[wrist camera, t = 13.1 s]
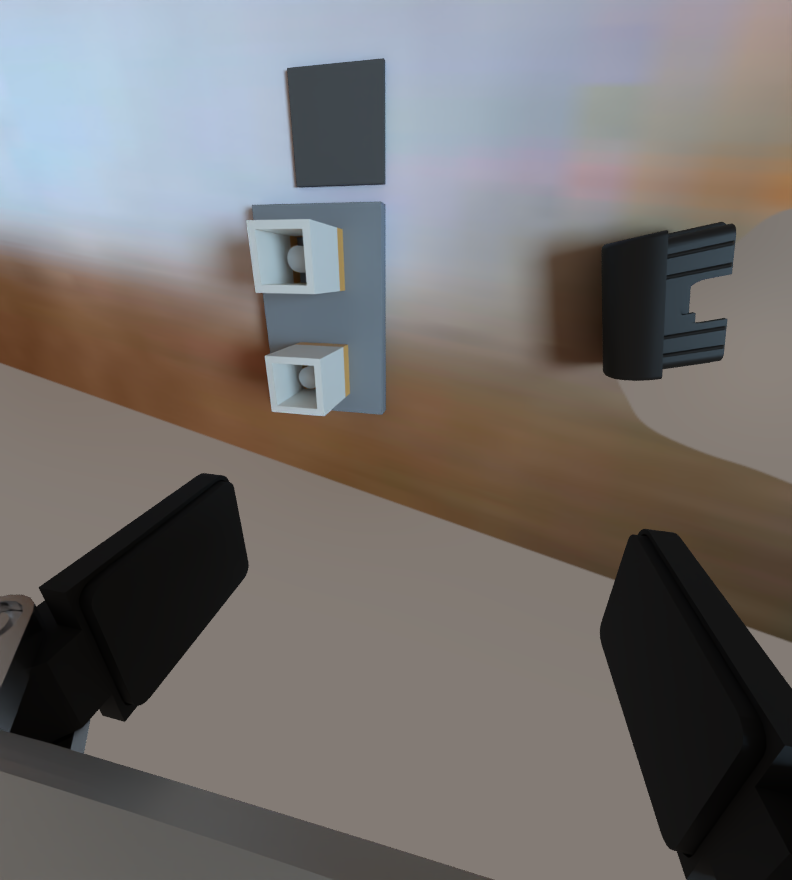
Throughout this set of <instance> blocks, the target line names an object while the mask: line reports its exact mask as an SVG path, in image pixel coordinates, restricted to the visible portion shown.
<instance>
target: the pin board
mask: <svg viewBox="0 0 792 880" xmlns="http://www.w3.org/2000/svg"><path fill="white" fill-rule="evenodd" d="M252 211H253V219H254V220H284V219H311V220H314V221H317V222H320V223H324V224H327V225H330V226H333V227H337V228H340V229H343V252H344V276H345V291H337V292H328V293H320V294H286V293H263V299H264V307H265V315H266V323H267V331H268V339H269V347H270V354H271V353H273V352H276V351H279V350H281V349H284V348H287V347H289V346H292V345H295V344H297V343H300V342H307V343H327V344H347V345H348V357H349V382H350V394H349V395H348V396H346V397H345V398H344V399H343V400H342V401H341V402H340V403H339V404H337V405H336V406H335V407H334V408H333V409H332V410H334V411H346V412H358V413H370V414H383V413H384V411H385V410H386V365H385V204H384V203H382V202H350V203H311V204H273V205H252ZM287 258H288V263H289V266H290V267H291V268H292V269H293V270H294V271H296V272H300V280H301V283H307V282H306V269H305V257H304V244H303V237H297V246H294V247H292V248H291V249H290V250H289V252H288V257H287ZM299 380H300V382H301V384H302V385H303V386H304V387H306V388H309V389H312V388H315V387H316V386H315V373H314V366H309V365H308V366H307V367H305V368H304V369H302V370H301V371H300V373H299Z"/></svg>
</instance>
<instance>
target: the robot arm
mask: <svg viewBox="0 0 792 880" xmlns="http://www.w3.org/2000/svg"><path fill="white" fill-rule="evenodd" d="M247 571H248V559H247V553H246V548H245V543H244V538H243V533H242V527H241V522H240V517H239V511H238V506H237V501H236V496H235V491H234V487H233V484H232V483H230V482H229V480H228V479H227V477H225V476H222V475H214V474H206V473H205V474H204V473H203V474H200V475H198V476H196V477H195V478H193V479H192V480H191V481H189V482H188V483H187V484H185V485H184V486H182V487H181V488H179V489H178V490H176V491H175V492H174V493H172V494H171V495H169V496H168V497H166V498H165V499H164V500H162V501H161V502H159V503H158V504H157V505H155V506H154V507H152V508H151V509H149V510H148V511H147V512H145V513H144V514H142V515H141V516H139V517H138V518H137V519H135V520H134V521H132V522H131V523H130V524H128V525H127V526H125V527H124V528H122V529H121V530H120V531H118V532H117V533H115V534H114V535H112V536H111V537H110V538H108V539H107V540H106V541H104V542H102V543H101V544H100V545H98V546H97V547H95V548H94V549H92V550H91V551H90V552H88V553H87V554H85V555H84V556H83V557H81V558H80V559H78V560H77V561H75V562H74V563H73V564H71V565H70V566H68V567H67V568H66V569H64V570H63V571H61V572H60V573H58V574H57V575H56V576H54V577H53V578H51V579H50V580H48V581H47V582H46V583H44V584H43V585H41V586H40V587H39V589H40V591H41V593H42V595H43V597H44V599H45V601H43V602H42V603H41V604H39V605H38V606H37V607H36V606H35V604H34V602H33V601H32V599H31V598H30V597H28V596H25V595H6V596H1V597H0V880H493V879H490V878H487V877H484V876H481V875H477V874H474V873H471V872H468V871H465V870H461V869H458V868H455V867H452V866H449V865H445V864H442V863H439V862H436V861H433V860H429V859H426V858H423V857H420V856H417V855H414V854H410V853H407V852H404V851H401V850H397V849H394V848H391V847H388V846H385V845H381V844H378V843H375V842H372V841H369V840H365V839H362V838H359V837H356V836H352V835H349V834H346V833H343V832H339V831H336V830H333V829H330V828H326V827H323V826H320V825H317V824H314V823H310V822H307V821H304V820H301V819H297V818H294V817H291V816H287V815H284V814H281V813H278V812H275V811H271V810H268V809H265V808H261V807H258V806H255V805H252V804H248V803H245V802H242V801H239V800H235V799H232V798H229V797H226V796H222V795H219V794H216V793H213V792H209V791H206V790H203V789H200V788H196V787H193V786H190V785H186V784H183V783H180V782H177V781H173V780H170V779H167V778H163V777H160V776H156V775H153V774H149V773H147V772H143V771H140V770H136V769H133V768H130V767H126V766H123V765H120V764H116V763H113V762H110V761H107V760H103V759H100V758H96V757H93V756H90V755H87V754H84V750H85V744H86V739H87V734H88V729H89V724H90V718H91V717H92V716H93V715H94V714H95V713H96V711H98V709H100V711H101V713H102V715H103V716H106V717H110V718H113V719H117V720H121V721H126V720H127V718H128V717H129V716H130V715H131V713H132V712H133V711H134V710H135V708H136V707H137V706H139V705H141V704H143V703H145V702H146V701H147V700H148V699H149V698H150V697H151V696H152V694H153V693H154V692H155V690H156V689H157V688H158V687H159V685H160V684H161V683H162V681H163V680H164V679H165V678H166V677H167V675H168V674H169V673H170V672H171V670H172V669H173V668H174V666H175V665H176V664H177V663H178V661H179V660H180V659H181V658H182V656H183V655H184V654H185V652H186V651H187V650H188V649H189V647H190V646H191V645H192V643H193V642H194V641H195V640H196V639H197V637H198V636H199V635H200V634H201V632H202V631H203V630H204V628H205V627H206V626H207V625H208V623H209V622H210V621H211V620H212V618H213V617H214V616H215V614H216V613H217V612H218V611H219V609H220V608H221V607H222V606H223V604H224V603H225V602H226V601H227V599H228V598H229V597H230V595H231V594H232V593H233V592H234V590H235V589H236V588H237V587H238V585H239V584H240V583H241V582H242V580H243V579H244V578H245V576H246V574H247ZM600 639H601V643H602V647H603V650H604V653H605V656H606V659H607V663H608V666H609V669H610V672H611V675H612V679H613V682H614V685H615V688H616V692H617V694H618V698H619V701H620V704H621V707H622V710H623V714H624V717H625V720H626V723H627V727H628V730H629V732H630V736H631V739H632V742H633V746H634V749H635V752H636V755H637V758H638V761H639V765H640V768H641V771H642V774H643V777H644V781H645V784H646V787H647V790H648V793H649V796H650V800H651V803H652V806H653V809H654V812H655V816H656V819H657V822H658V825H659V828H660V831H661V834H662V837H663V839H664V841H665V843H666V845H667V846H668V847H669V848H670V849H672V850H674V851H677V853H678V856H679V859H680V862H681V865H682V868H683V871H684V874H685V877H686V879H687V880H792V688H791V687H790V686H789V684H788V683H787V682H786V680H785V679H784V678H783V676H782V675H781V674H780V672H779V671H778V669H777V668H776V667H775V665H774V664H773V663H772V661H771V660H770V659H769V657H768V656H767V655H766V653H765V652H764V650H763V649H762V648H761V646H760V645H759V644H758V642H757V641H756V640H755V638H754V637H753V636H752V634H751V633H750V632H749V630H748V629H747V627H746V626H745V625H744V623H743V622H742V621H741V619H740V618H739V617H738V615H737V614H736V613H735V611H734V610H733V609H732V607H731V606H730V604H729V603H728V602H727V600H726V599H725V598H724V596H723V595H722V594H721V592H720V591H719V590H718V588H717V587H716V585H715V584H714V583H713V581H712V580H711V579H710V577H709V576H708V575H707V573H706V572H705V571H704V569H703V568H702V567H701V565H700V564H699V562H698V561H697V560H696V558H695V557H694V556H693V554H692V553H691V552H690V550H689V549H688V548H687V546H686V545H685V544H684V542H683V541H682V539H681V538H680V537H679V536H678V535H677V534H676V533H673V532H665V531H657V530H649V529H643V530H641V531H640V532H639V534H638V535H631V536H630V537H629V539H628V542H627V545H626V548H625V551H624V554H623V557H622V560H621V563H620V566H619V570H618V573H617V576H616V579H615V582H614V585H613V589H612V591H611V594H610V597H609V600H608V604H607V607H606V610H605V613H604V616H603V619H602V622H601V626H600Z"/></svg>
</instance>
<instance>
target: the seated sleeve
mask: <svg viewBox="0 0 792 880" xmlns="http://www.w3.org/2000/svg"><path fill="white" fill-rule="evenodd" d="M246 223H247V231H248V239H249V246H250V254H251V261H252V269H253V276H254V284H255V291H256V293H286V294H320V293H328V292H337V291H345V276H344V252H343V229H340V228H337V227H333V226H330V225H327V224H324V223H320V222H317V221H314V220H311V219H284V220H246ZM297 237H303V244H304V257H305V269H306V282H307V283H301V280H300V272H296V271H294V270H293V269H292V268H291V267H290V266H289V263H288V258H287V257H288V252H289V250H290V249H291V248H292V247H294V246H297Z"/></svg>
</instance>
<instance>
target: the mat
mask: <svg viewBox="0 0 792 880" xmlns="http://www.w3.org/2000/svg"><path fill="white" fill-rule="evenodd" d="M287 73H288V85H289V97H290V110H291V122H292V134H293V146H294V158H295V171H296V183H297V187H320V186H349V185H377V184H385V60H384V58H383V59H373V60H363V61H353V62H343V63H333V64H323V65H313V66H303V67H293V68H287Z"/></svg>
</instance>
